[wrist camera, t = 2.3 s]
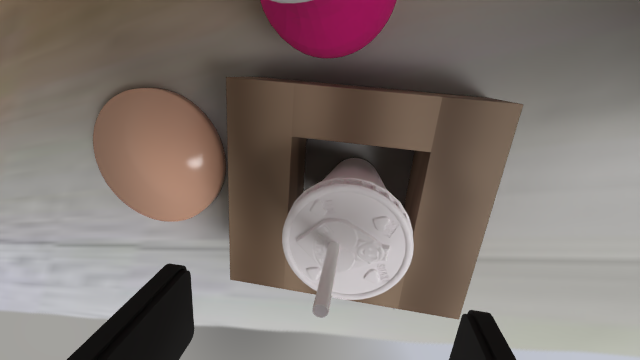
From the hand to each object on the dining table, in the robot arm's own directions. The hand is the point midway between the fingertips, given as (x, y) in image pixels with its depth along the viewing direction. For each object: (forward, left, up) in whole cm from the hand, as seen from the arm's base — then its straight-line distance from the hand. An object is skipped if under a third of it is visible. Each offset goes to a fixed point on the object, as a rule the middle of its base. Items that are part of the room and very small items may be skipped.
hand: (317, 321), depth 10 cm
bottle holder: (-1, 0, -14) cm, 14 cm away
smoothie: (-1, 0, -14) cm, 14 cm away
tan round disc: (+15, 0, -14) cm, 21 cm away
